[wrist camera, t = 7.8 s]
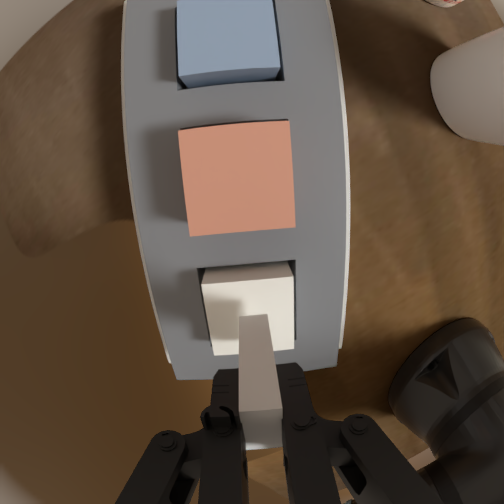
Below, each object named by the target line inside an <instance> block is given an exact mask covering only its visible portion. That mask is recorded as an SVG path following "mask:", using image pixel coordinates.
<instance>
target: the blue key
mask: <svg viewBox="0 0 504 504" xmlns="http://www.w3.org/2000/svg"><path fill="white" fill-rule="evenodd" d="M177 46H178V72H179V77H180V79H181V80H182V81H183V82H184V84H185V85H186V86H187V87H188V89H192V88H199V87H206V86H215V85H224V84H235V83H249V82H270V81H274V80H275V77H276V75H277V73H278V71H279V69H280V58H279V50H278V41H277V33H276V25H275V17H274V10H273V2H272V0H177Z"/></svg>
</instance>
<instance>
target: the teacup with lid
mask: <svg viewBox="0 0 504 504" xmlns="http://www.w3.org/2000/svg"><path fill="white" fill-rule="evenodd" d="M425 1H427V2H429V3H431V4H434V5H437V6H440V7H451V6H453V5H455V4H457V3H459V2H462V1H464V0H425Z"/></svg>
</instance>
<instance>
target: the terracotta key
mask: <svg viewBox="0 0 504 504" xmlns="http://www.w3.org/2000/svg"><path fill="white" fill-rule="evenodd" d="M178 137H179V148H180V159H181V168H182V178H183V187H184V195H185V204H186V211H187V219H188V227H189V234H190V237H191V236H202V235H212V234H223V233H234V232H246V231H257V230H269V229H282V228H294V227H296V225H295V201H294V182H293V165H292V150H291V136H290V123H289V121H269V122H252V123H239V124H228V125H218V126H209V127H201V128H193V129H186V130H179V131H178Z"/></svg>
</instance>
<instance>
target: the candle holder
mask: <svg viewBox="0 0 504 504" xmlns="http://www.w3.org/2000/svg"><path fill="white" fill-rule="evenodd" d="M430 84H431V90H432V95H433V98H434V101H435V104H436V106H437V109H438V111H439V113H440V115H441V116H442V118H443V120H444V121H445V122H446V124H447V125H448V126H449V127H450V128H451V129H452V130H453V131H454V132H455V133H456V134H458V135H459V136H461V137H463V138H465V139H468V140H473V141H479V142H484V143H490V144H496V145H502V146H504V26H503V27H501V28H498V29H495V30H493V31H490V32H488V33H485V34H483V35H481V36H478V37H476V38H474V39H471V40H469V41H467V42H464V43H462V44H460V45H458V46H456V47H454V48H452V49H449V50H447V51H446V52H444V53H442V54H440V55H439V56H438V57H437V58H436V59H435V61H434V62H433V65H432V68H431V73H430Z"/></svg>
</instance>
